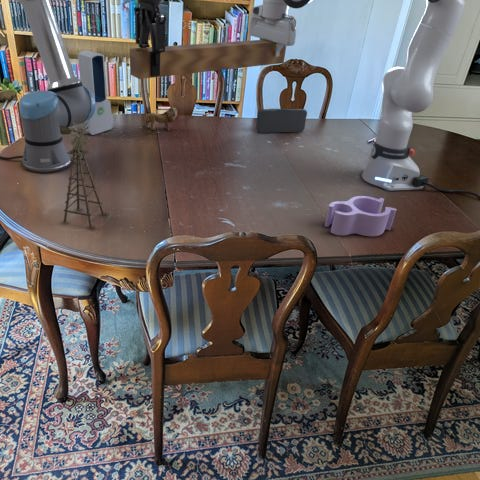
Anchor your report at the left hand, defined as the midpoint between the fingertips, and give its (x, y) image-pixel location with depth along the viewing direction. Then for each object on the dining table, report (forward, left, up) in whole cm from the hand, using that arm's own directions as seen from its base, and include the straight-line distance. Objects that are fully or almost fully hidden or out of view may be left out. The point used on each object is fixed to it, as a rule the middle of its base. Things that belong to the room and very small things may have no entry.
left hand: (150, 73), depth 140 cm
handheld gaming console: (+41, +62, -34) cm, 82 cm away
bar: (+17, +18, -1) cm, 25 cm away
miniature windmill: (-10, -32, -34) cm, 48 cm away
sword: (+91, +73, -34) cm, 121 cm away
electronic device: (-33, +35, -34) cm, 59 cm away
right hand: (+33, +37, +2) cm, 50 cm away
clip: (+68, -14, -34) cm, 78 cm away
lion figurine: (-9, +46, -34) cm, 58 cm away
